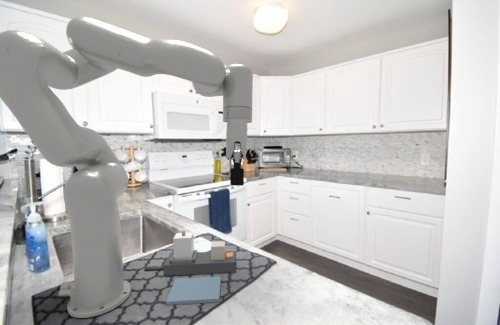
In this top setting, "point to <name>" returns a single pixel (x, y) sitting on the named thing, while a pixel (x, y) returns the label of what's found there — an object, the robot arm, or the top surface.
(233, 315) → the top surface
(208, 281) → the mat
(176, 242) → the block
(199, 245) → the external hard drive
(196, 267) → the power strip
